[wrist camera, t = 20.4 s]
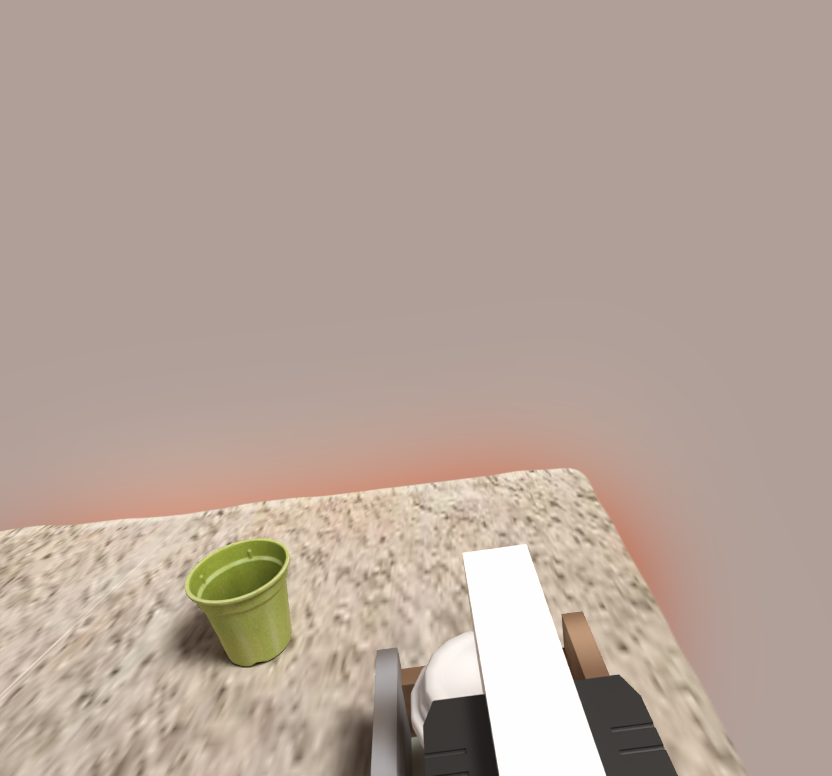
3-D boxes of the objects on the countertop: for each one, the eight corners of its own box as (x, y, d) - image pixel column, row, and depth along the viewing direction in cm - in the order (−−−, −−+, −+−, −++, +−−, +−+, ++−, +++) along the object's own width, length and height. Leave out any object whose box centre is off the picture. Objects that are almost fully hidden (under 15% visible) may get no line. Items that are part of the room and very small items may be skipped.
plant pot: (188, 664, 56) (162, 588, 53) (258, 600, 64) (239, 530, 61) (260, 695, 51) (236, 613, 48) (327, 622, 59) (310, 547, 56)
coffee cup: (421, 894, 34) (389, 739, 31) (442, 750, 43) (419, 614, 39) (585, 911, 33) (573, 749, 29) (574, 757, 41) (563, 615, 37)
